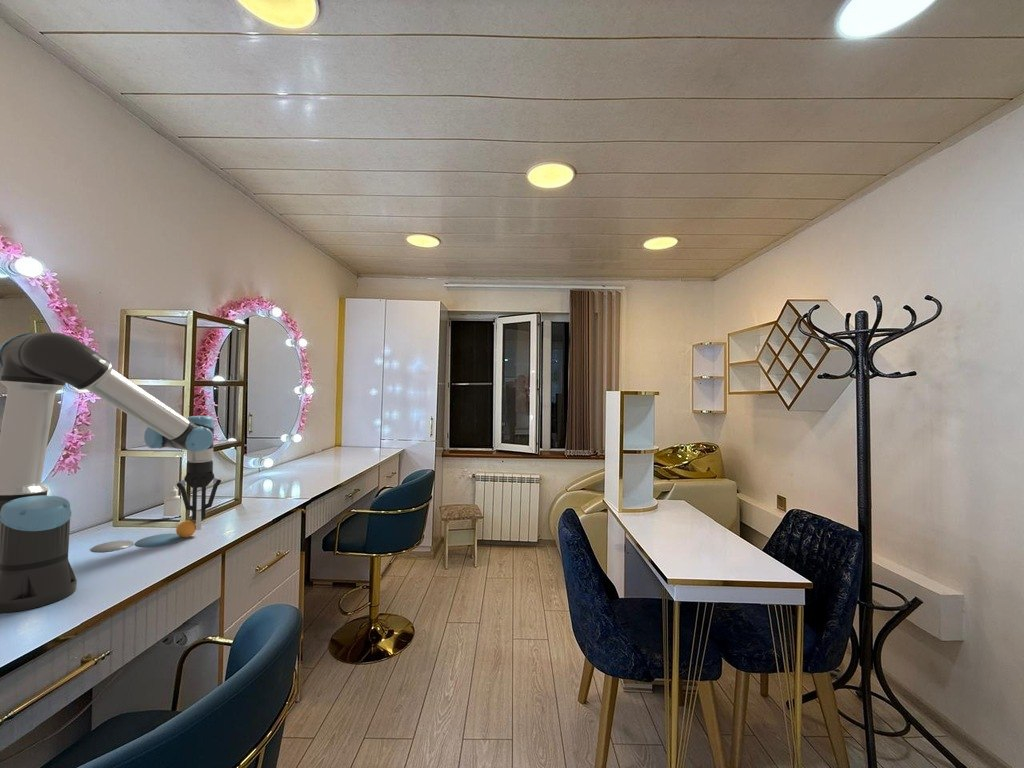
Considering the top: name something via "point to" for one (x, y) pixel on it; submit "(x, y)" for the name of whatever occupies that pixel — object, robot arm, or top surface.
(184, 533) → the ball
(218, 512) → the top surface
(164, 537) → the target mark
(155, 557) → the top surface
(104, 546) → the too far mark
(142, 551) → the top surface
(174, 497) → the eye dropper bottle
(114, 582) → the top surface
